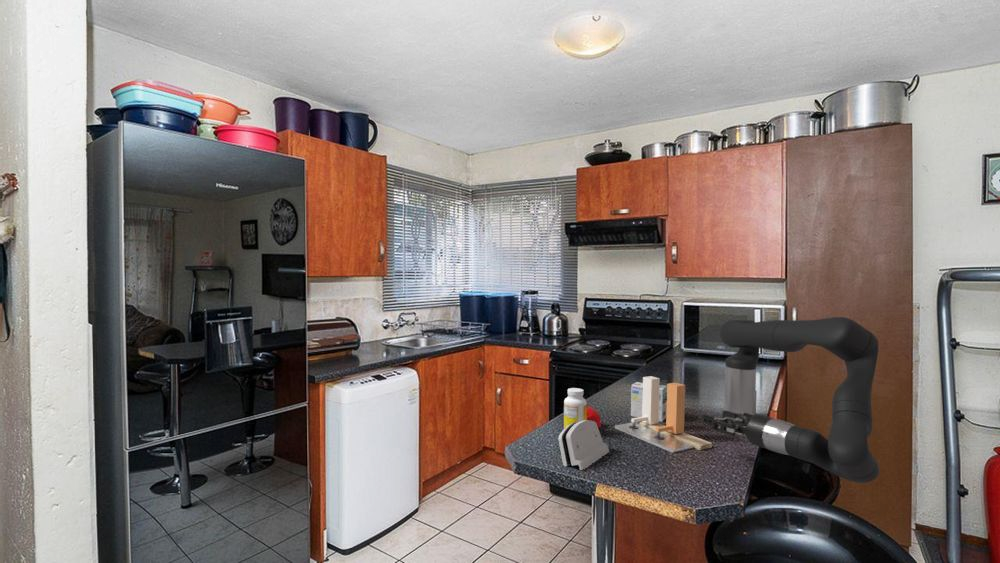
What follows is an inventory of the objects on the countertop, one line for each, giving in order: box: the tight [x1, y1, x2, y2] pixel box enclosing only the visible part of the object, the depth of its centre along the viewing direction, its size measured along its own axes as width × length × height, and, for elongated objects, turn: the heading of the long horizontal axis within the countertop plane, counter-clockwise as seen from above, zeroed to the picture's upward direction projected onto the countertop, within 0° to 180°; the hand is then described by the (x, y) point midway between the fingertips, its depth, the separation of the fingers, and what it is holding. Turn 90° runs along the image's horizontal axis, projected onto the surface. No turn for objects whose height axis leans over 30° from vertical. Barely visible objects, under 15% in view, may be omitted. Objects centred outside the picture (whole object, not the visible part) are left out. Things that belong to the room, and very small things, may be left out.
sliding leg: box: [656, 382, 686, 437], centre depth 133 cm, size 9×4×14 cm, turn 119°
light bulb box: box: [630, 381, 667, 423], centre depth 154 cm, size 11×7×11 cm, turn 58°
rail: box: [638, 421, 713, 451], centre depth 135 cm, size 5×22×1 cm, turn 29°
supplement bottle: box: [563, 387, 588, 430], centre depth 136 cm, size 7×7×13 cm
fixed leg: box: [630, 375, 661, 427], centre depth 141 cm, size 9×4×14 cm, turn 119°
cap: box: [586, 406, 602, 429], centre depth 142 cm, size 8×6×6 cm
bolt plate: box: [614, 422, 693, 454], centre depth 133 cm, size 8×22×1 cm, turn 29°
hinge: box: [558, 420, 610, 471], centre depth 118 cm, size 17×5×10 cm, turn 143°
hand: (713, 416), depth 124 cm, fingers open, 8 cm apart
